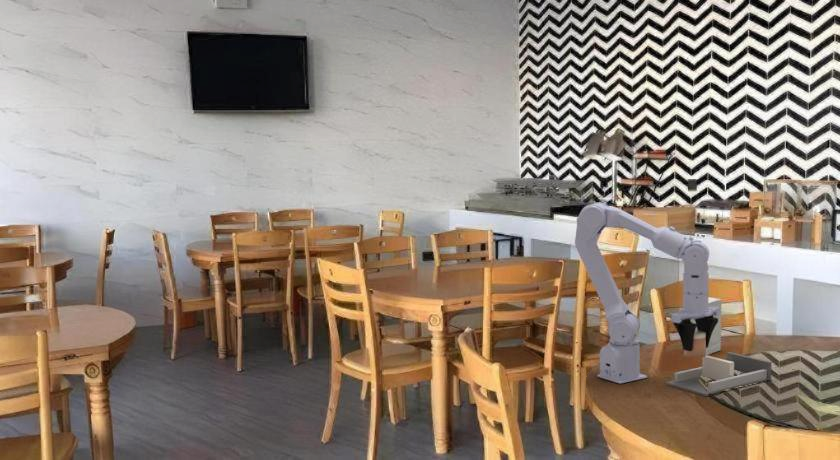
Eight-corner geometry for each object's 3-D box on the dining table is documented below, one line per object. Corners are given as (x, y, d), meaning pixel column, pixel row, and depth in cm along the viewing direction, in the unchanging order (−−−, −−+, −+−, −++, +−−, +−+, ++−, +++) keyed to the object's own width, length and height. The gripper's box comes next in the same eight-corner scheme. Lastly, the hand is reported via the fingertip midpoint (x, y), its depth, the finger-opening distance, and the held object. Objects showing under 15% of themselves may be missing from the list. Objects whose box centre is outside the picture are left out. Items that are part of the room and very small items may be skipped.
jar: (694, 358, 187) (694, 335, 187) (679, 354, 192) (678, 332, 191) (710, 355, 189) (710, 333, 189) (694, 351, 194) (694, 329, 193)
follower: (729, 383, 187) (729, 363, 187) (702, 376, 194) (702, 356, 194) (733, 382, 188) (734, 362, 188) (706, 375, 195) (706, 355, 194)
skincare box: (702, 347, 226) (702, 295, 224) (722, 351, 221) (722, 298, 220) (686, 352, 220) (686, 299, 219) (705, 356, 216) (706, 302, 214)
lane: (706, 396, 180) (706, 377, 180) (665, 384, 191) (665, 365, 190) (772, 379, 192) (772, 361, 192) (730, 369, 202) (731, 351, 202)
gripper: (688, 298, 182) (688, 356, 183) (730, 291, 189) (729, 347, 190) (664, 294, 188) (664, 350, 189) (705, 287, 195) (705, 342, 196)
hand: (695, 348), depth 190 cm, fingers closed on jar, 5 cm apart
